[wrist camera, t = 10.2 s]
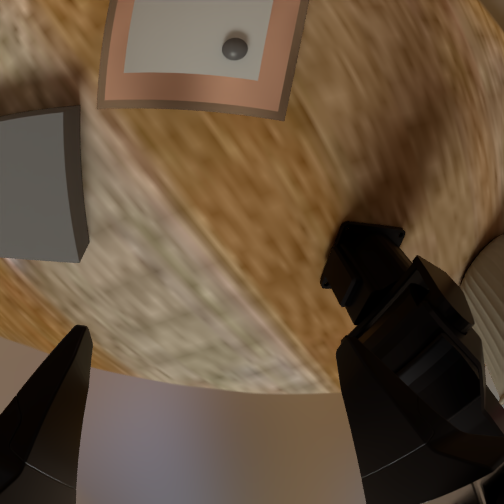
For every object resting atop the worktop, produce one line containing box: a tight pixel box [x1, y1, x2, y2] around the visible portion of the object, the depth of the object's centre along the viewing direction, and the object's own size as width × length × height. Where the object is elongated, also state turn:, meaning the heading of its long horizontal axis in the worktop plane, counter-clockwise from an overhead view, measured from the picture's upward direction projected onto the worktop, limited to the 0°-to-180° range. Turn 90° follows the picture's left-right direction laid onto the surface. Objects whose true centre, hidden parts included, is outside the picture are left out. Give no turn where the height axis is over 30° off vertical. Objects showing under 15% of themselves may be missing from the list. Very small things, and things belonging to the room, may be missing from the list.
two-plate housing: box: [124, 0, 273, 81], centre depth 8 cm, size 6×4×5 cm
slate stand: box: [0, 105, 89, 263], centre depth 14 cm, size 10×10×2 cm
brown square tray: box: [97, 0, 309, 121], centre depth 11 cm, size 10×10×2 cm
